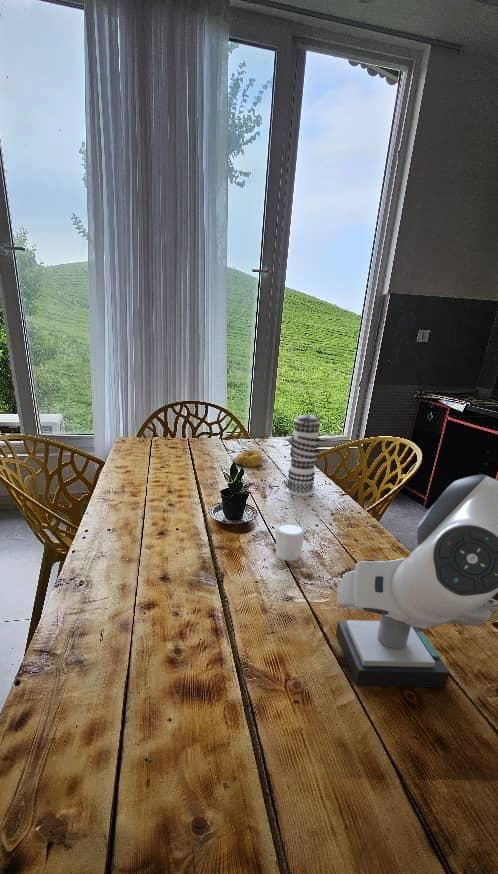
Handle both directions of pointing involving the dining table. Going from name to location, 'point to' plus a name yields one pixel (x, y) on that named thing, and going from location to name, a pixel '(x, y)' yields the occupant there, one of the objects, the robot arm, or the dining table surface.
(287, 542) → the white short cylinder
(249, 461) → the bagel
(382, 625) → the grey hollow tube
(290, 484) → the banded tower model
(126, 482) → the dining table surface
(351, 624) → the scale
